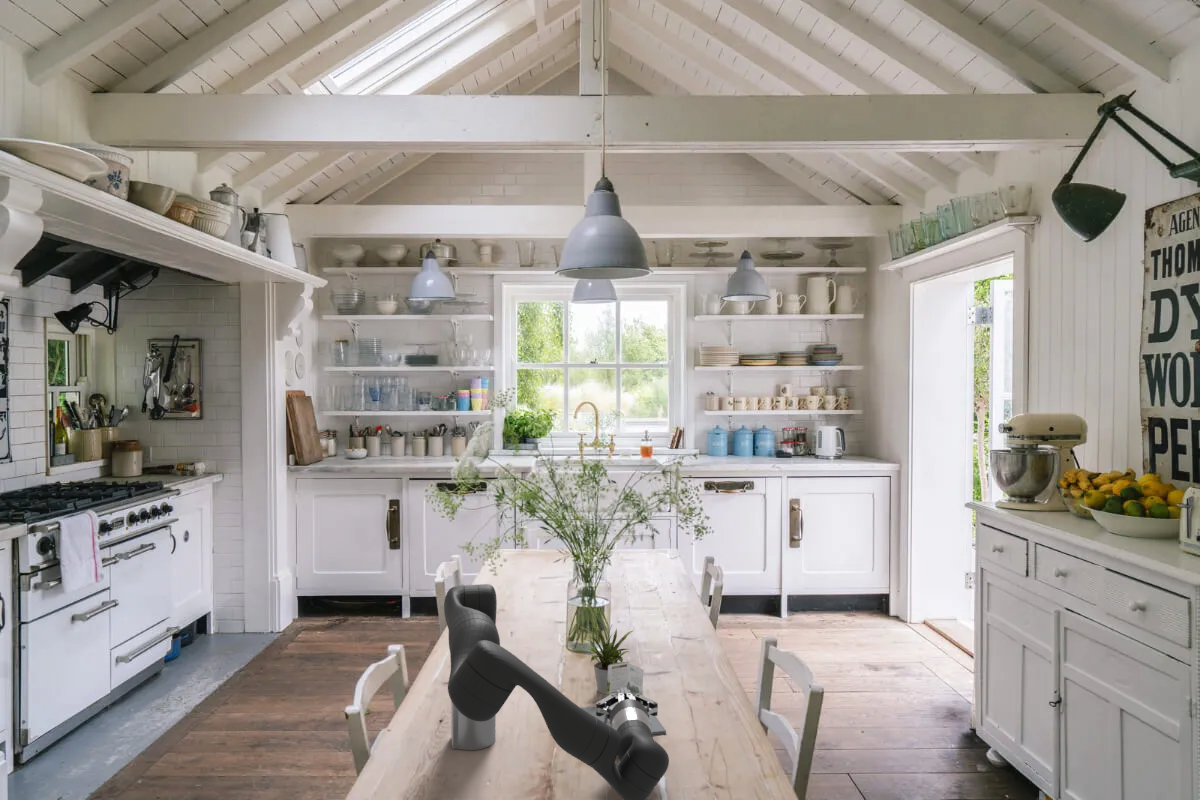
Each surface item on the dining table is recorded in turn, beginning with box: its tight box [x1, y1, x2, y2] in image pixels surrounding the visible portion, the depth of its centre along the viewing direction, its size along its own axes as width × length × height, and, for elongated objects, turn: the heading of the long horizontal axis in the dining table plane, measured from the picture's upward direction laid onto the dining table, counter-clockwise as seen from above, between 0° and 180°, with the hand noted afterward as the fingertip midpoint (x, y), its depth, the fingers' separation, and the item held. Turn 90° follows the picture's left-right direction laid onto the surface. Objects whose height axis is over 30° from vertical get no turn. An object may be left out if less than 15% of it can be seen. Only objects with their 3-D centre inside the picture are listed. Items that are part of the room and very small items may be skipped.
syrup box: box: [604, 661, 644, 726], centre depth 172 cm, size 6×6×14 cm
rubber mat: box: [581, 703, 667, 736], centre depth 180 cm, size 20×16×1 cm
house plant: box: [580, 625, 635, 695], centre depth 198 cm, size 14×14×16 cm
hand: (623, 691), depth 169 cm, fingers closed
